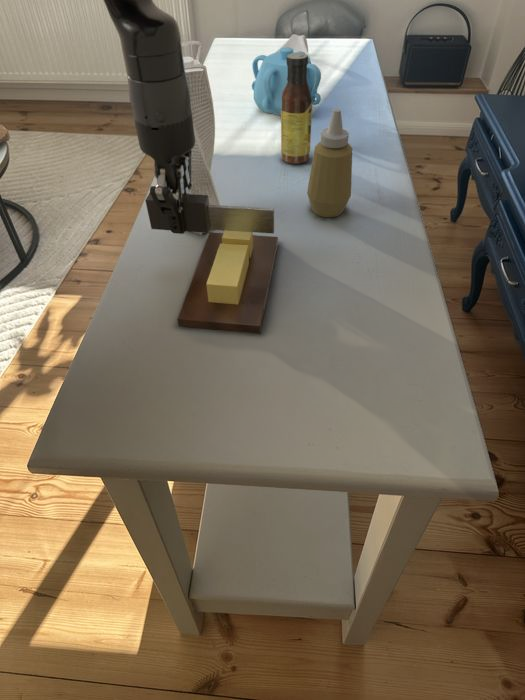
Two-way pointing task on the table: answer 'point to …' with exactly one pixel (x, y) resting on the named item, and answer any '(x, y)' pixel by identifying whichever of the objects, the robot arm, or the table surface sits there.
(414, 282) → the table surface
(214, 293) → the butter
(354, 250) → the table surface
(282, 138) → the sauce bottle
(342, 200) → the squeeze bottle
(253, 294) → the board
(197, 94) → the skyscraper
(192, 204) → the knife
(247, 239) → the butter slice
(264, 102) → the decorative pot
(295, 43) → the spoon rest
